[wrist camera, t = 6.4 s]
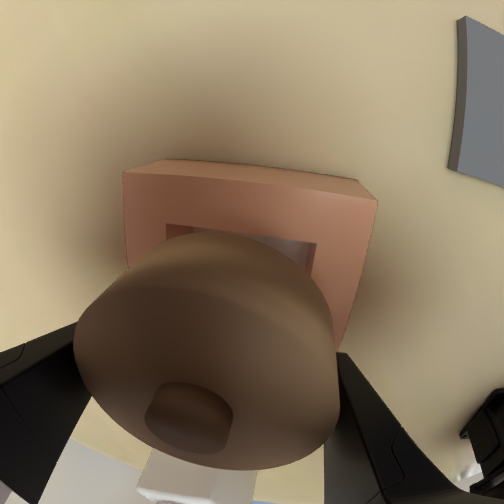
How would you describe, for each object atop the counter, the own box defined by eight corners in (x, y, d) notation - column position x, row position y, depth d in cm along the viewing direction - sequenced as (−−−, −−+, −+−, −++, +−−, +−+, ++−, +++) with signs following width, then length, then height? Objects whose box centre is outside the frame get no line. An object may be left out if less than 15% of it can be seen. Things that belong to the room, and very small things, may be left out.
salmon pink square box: (357, 180, 13) (378, 200, 9) (321, 339, 17) (323, 391, 13) (166, 158, 14) (122, 171, 10) (169, 314, 18) (141, 357, 14)
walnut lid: (357, 250, 8) (392, 345, 4) (308, 416, 10) (303, 501, 7) (112, 219, 8) (23, 276, 5) (138, 382, 11) (98, 451, 8)
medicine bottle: (160, 427, 23) (113, 534, 13) (230, 427, 22) (194, 559, 11) (196, 464, 26) (164, 557, 15) (259, 465, 24) (238, 572, 13)
